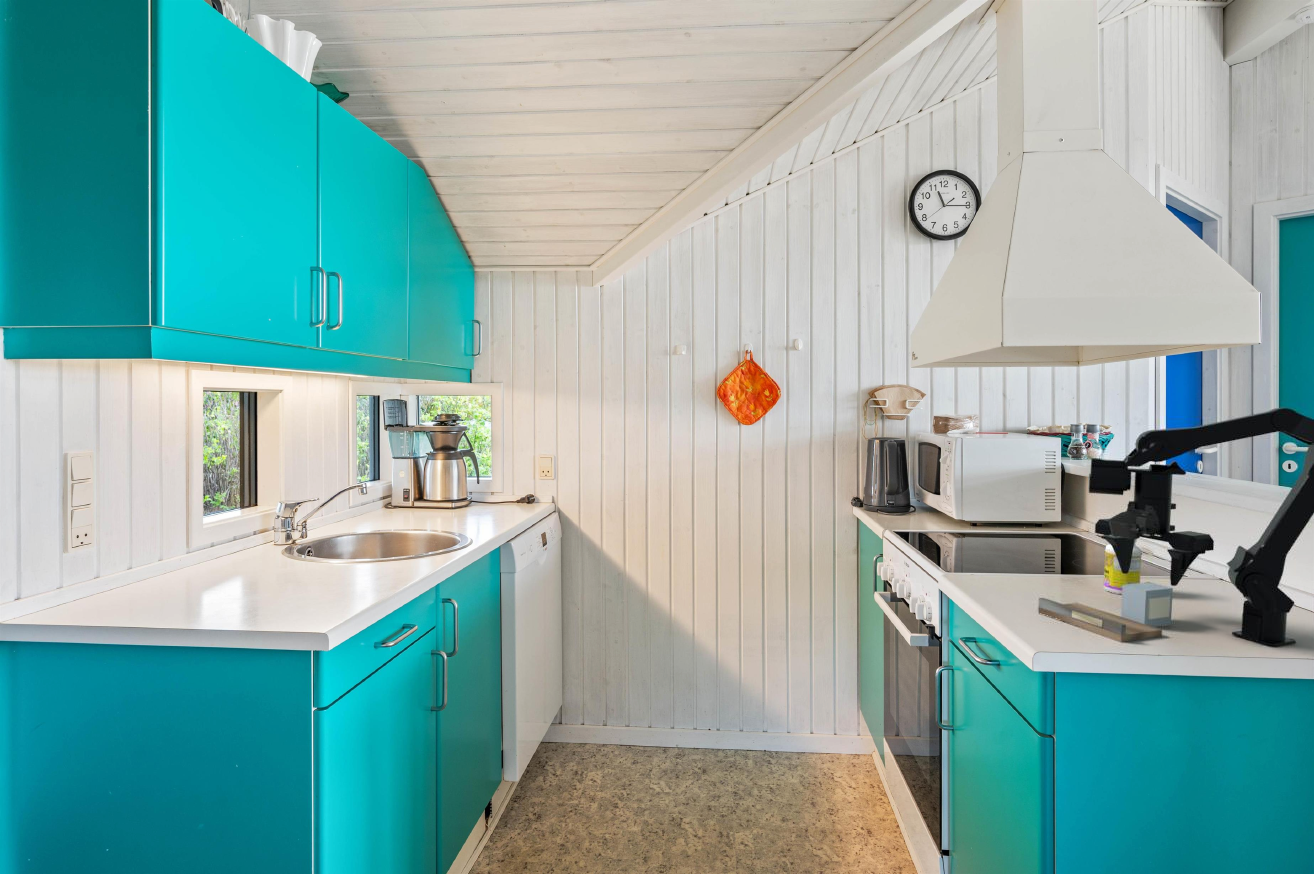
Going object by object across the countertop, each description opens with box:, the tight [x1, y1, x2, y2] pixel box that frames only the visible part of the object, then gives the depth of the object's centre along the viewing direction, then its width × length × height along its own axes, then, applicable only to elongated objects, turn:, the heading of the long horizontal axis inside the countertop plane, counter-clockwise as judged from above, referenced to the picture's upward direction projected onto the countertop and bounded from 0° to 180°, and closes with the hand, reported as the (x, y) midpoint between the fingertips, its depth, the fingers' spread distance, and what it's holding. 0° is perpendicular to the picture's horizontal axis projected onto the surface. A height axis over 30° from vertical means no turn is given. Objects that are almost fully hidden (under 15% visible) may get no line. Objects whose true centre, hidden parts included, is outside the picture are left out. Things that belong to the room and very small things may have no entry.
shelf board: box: [1037, 597, 1163, 643], centre depth 129 cm, size 10×17×3 cm, turn 19°
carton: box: [1120, 581, 1174, 628], centre depth 131 cm, size 5×7×7 cm
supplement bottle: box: [1103, 539, 1143, 596], centre depth 152 cm, size 7×7×13 cm
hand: (1148, 579), depth 130 cm, fingers open, 9 cm apart
